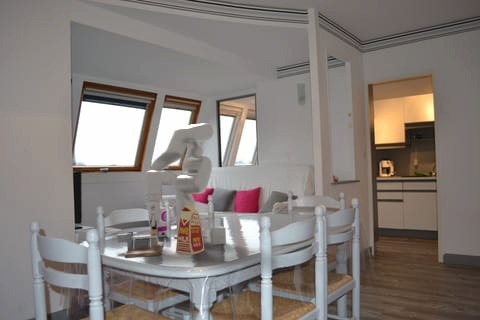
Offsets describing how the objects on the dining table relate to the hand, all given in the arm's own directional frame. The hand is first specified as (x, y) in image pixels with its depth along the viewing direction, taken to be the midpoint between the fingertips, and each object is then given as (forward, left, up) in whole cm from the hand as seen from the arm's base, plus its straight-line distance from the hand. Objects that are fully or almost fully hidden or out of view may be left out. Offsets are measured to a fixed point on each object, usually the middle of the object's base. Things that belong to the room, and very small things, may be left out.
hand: (154, 238), depth 170 cm
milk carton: (-16, +16, -4) cm, 22 cm away
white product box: (-1, -27, -4) cm, 28 cm away
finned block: (+5, +8, -2) cm, 9 cm away
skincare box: (-29, +2, -4) cm, 29 cm away
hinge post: (+10, +8, -2) cm, 12 cm away
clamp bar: (+7, +8, +1) cm, 10 cm away
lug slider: (0, +6, -2) cm, 7 cm away
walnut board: (+3, +8, -4) cm, 9 cm away
